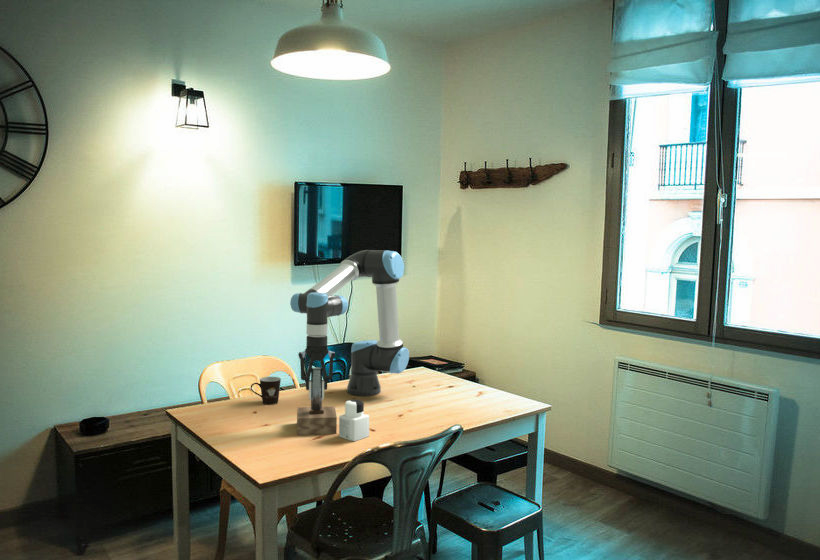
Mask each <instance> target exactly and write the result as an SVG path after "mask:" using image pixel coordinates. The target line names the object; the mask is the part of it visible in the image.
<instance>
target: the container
mask: <svg viewBox="0 0 820 560" xmlns="http://www.w3.org/2000/svg"><path fill="white" fill-rule="evenodd" d="M364 405H365V403H364V401H363V400H360V399H356V398H355V399H353V398H352V399H349V400H348V399H347V401H346V402H345V404H344V414H341V415H339V417H338V418H339V419H338V420H339V421H338V424H339V426H338V436H339V438H342V439H345V440H348V441H351V442H357V441H360V440H363V439H365V438H368V437H370V415H369V414H365V413H364V412H365V411H364V410H365V409H364V408H365V406H364Z"/></svg>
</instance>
